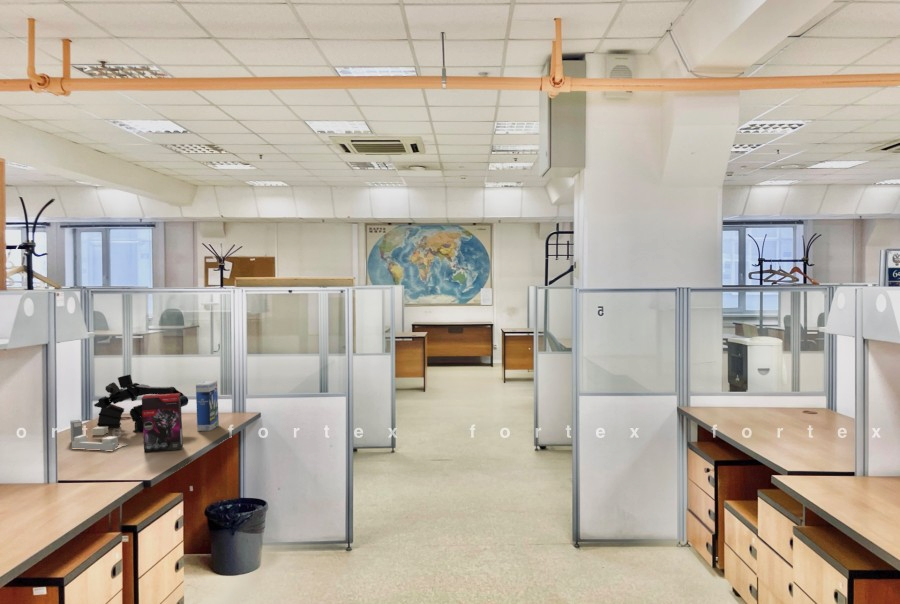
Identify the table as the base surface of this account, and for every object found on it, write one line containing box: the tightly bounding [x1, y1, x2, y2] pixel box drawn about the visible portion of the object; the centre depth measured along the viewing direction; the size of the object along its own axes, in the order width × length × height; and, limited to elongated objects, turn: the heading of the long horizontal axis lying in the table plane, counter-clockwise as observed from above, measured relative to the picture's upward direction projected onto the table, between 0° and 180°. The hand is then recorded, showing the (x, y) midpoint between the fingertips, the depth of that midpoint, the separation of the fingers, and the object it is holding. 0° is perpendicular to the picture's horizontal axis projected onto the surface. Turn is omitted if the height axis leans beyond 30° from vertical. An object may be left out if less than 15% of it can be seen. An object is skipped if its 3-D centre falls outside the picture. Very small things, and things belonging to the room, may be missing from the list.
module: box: [70, 419, 83, 443], centre depth 319 cm, size 4×6×11 cm
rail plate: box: [71, 434, 129, 451], centre depth 308 cm, size 12×24×5 cm, turn 77°
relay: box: [92, 426, 109, 436], centre depth 334 cm, size 6×4×4 cm
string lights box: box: [195, 380, 220, 432], centre depth 344 cm, size 13×8×26 cm, turn 0°
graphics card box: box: [141, 393, 184, 453], centre depth 301 cm, size 17×7×27 cm, turn 105°
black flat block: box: [96, 403, 125, 429], centre depth 347 cm, size 4×13×15 cm, turn 108°
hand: (99, 402), depth 343 cm, fingers open, 9 cm apart
